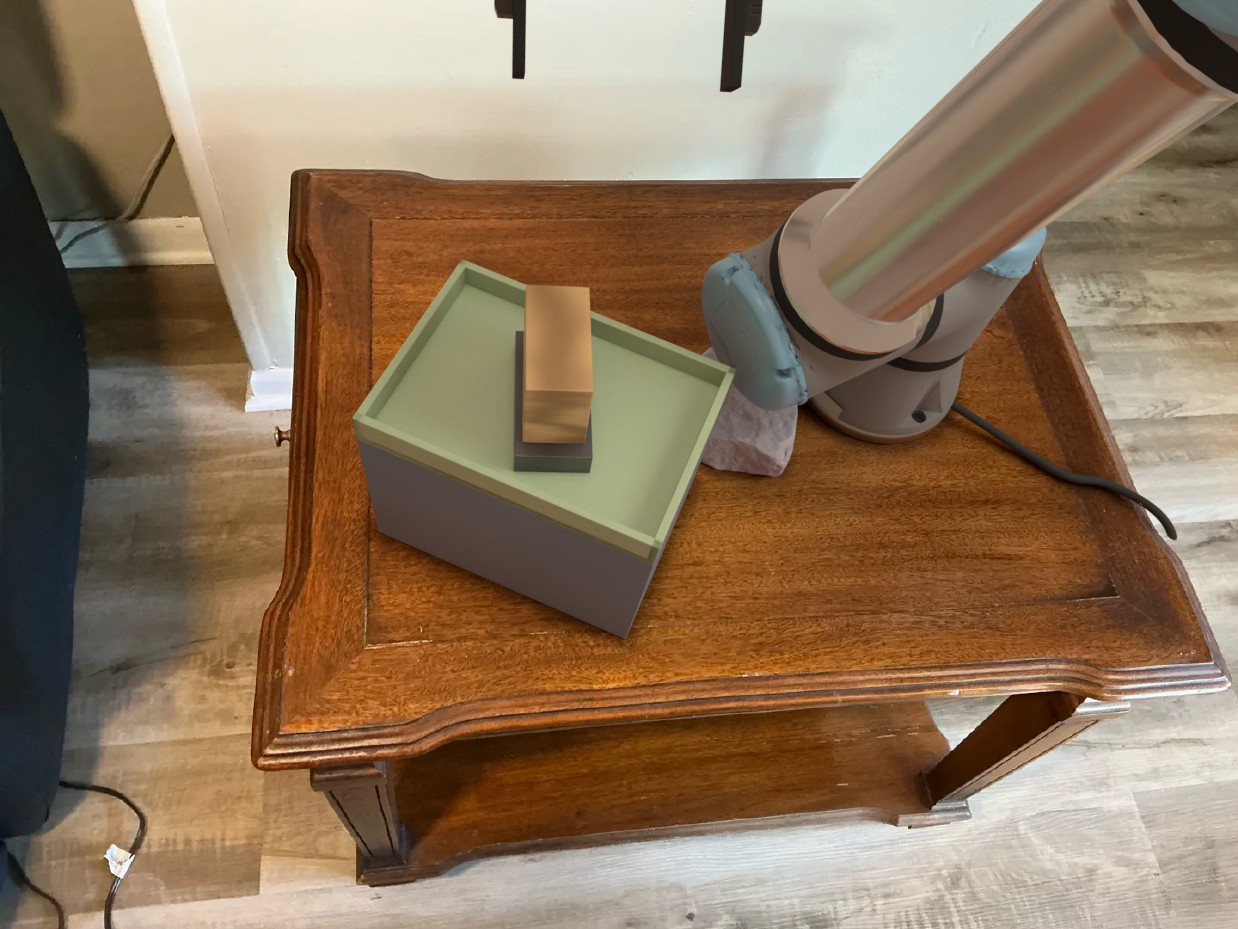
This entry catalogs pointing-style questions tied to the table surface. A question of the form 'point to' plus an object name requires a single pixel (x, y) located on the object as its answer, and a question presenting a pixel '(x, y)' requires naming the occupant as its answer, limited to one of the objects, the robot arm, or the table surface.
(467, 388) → the tray
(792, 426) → the stone block
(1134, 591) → the table surface
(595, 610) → the stand
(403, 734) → the table surface
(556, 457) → the eraser
